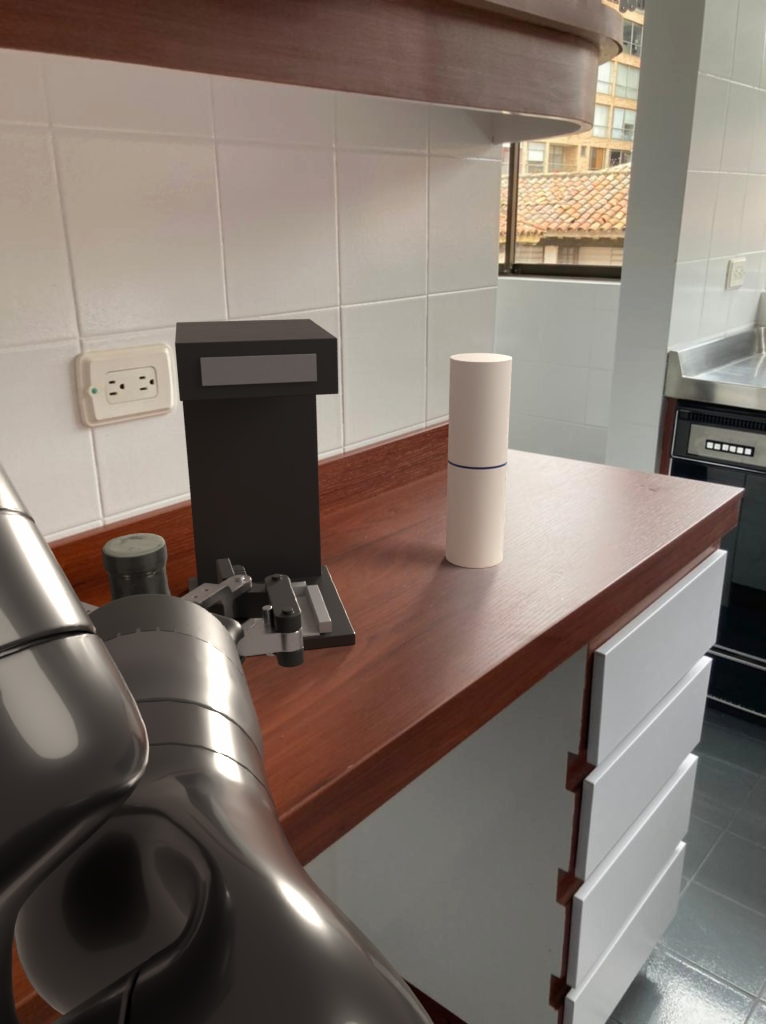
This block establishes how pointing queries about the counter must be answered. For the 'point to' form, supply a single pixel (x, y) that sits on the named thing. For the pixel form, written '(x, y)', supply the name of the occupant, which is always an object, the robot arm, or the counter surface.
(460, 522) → the cylindrical container
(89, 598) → the counter surface
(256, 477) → the coffee maker
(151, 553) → the sauce bottle
